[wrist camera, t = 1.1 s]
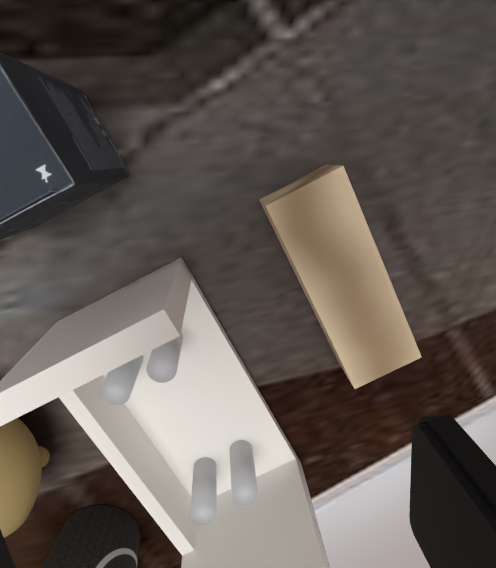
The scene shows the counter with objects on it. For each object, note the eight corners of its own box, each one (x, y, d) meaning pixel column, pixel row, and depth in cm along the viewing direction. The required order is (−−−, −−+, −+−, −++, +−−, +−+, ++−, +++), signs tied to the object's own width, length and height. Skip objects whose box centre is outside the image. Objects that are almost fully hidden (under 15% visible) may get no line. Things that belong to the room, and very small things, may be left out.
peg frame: (181, 256, 28) (163, 309, 18) (300, 462, 34) (334, 582, 24) (57, 321, 29) (-22, 403, 19) (195, 511, 35) (187, 646, 25)
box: (82, 88, 24) (-12, 40, 14) (132, 175, 26) (79, 187, 16) (-29, 149, 25) (-193, 145, 15) (28, 230, 27) (-86, 276, 17)
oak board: (325, 164, 27) (343, 165, 23) (396, 332, 31) (421, 357, 28) (258, 199, 27) (265, 206, 24) (337, 361, 32) (354, 389, 28)
